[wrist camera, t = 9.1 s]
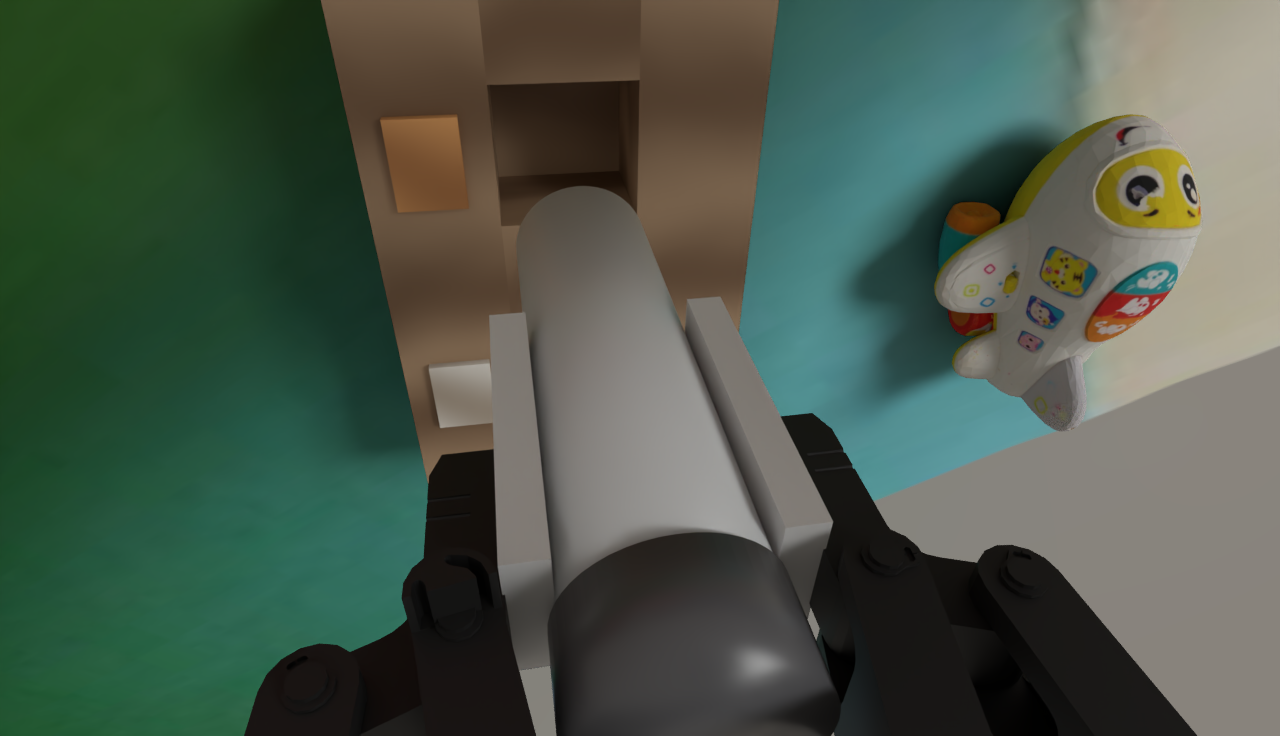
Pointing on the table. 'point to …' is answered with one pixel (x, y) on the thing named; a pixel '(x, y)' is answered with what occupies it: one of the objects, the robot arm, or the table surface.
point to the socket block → (542, 158)
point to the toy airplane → (1068, 261)
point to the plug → (649, 505)
